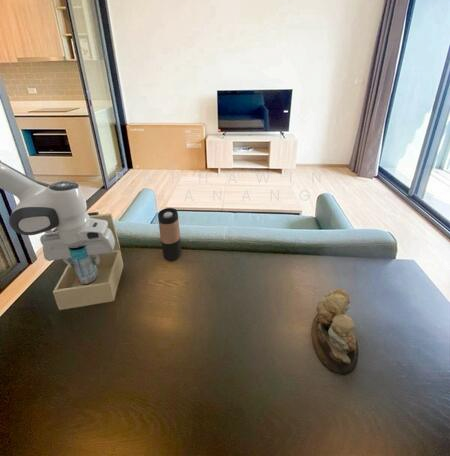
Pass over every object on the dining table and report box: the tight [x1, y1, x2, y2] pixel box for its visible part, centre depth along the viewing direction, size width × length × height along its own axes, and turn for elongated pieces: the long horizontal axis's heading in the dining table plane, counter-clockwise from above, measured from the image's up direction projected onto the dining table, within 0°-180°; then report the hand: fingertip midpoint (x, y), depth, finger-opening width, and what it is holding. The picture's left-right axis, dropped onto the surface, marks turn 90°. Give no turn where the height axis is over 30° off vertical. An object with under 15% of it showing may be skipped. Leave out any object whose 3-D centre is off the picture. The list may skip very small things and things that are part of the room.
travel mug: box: [157, 207, 182, 262], centre depth 97 cm, size 8×8×20 cm
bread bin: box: [52, 249, 124, 311], centre depth 85 cm, size 16×17×8 cm
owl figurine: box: [311, 288, 359, 376], centre depth 65 cm, size 18×12×17 cm, turn 166°
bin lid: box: [87, 211, 121, 250], centre depth 89 cm, size 16×17×5 cm
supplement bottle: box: [69, 245, 98, 285], centre depth 80 cm, size 6×6×15 cm
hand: (85, 264), depth 81 cm, fingers closed on supplement bottle, 6 cm apart
